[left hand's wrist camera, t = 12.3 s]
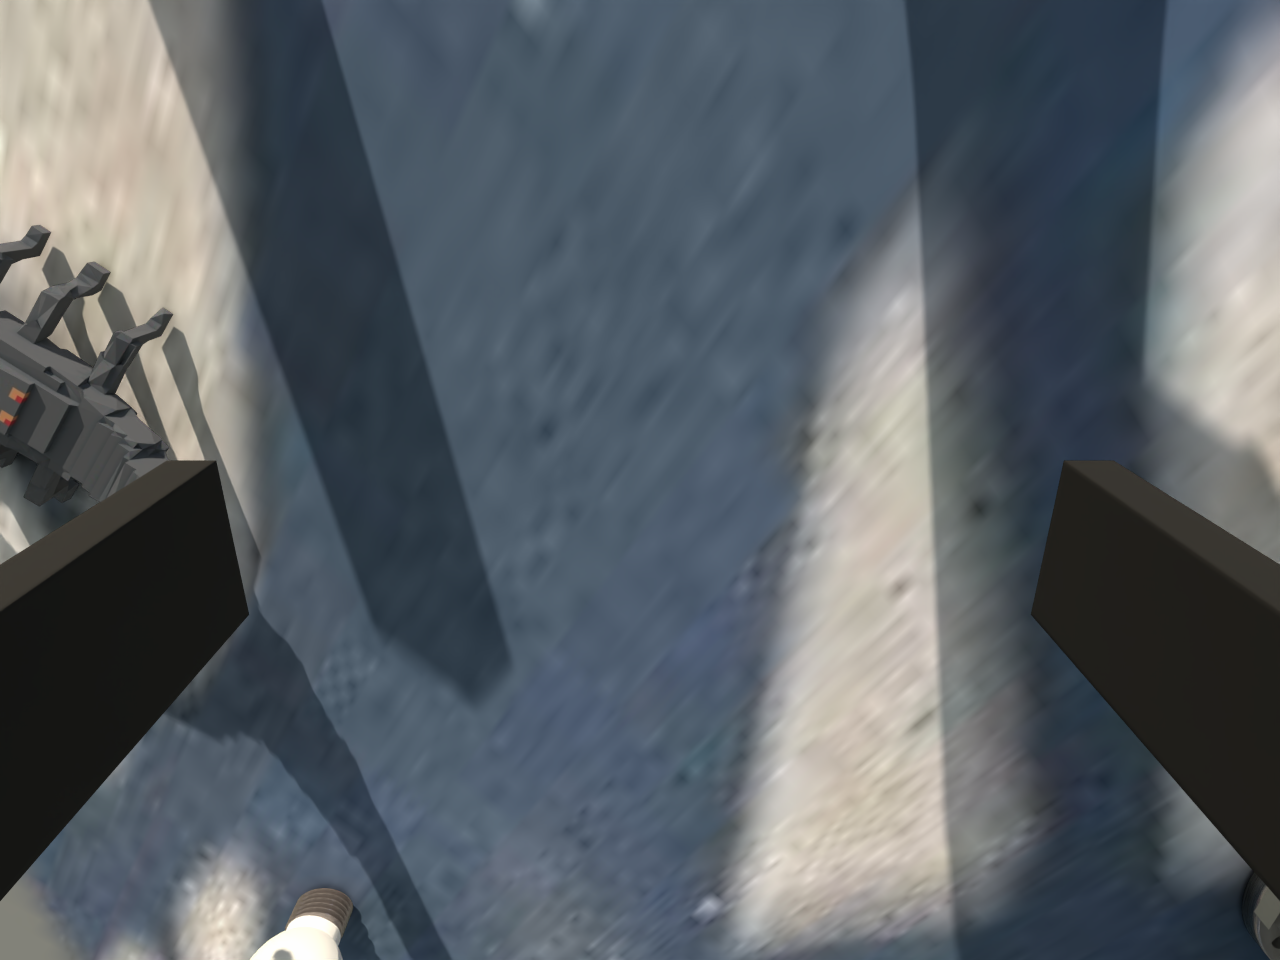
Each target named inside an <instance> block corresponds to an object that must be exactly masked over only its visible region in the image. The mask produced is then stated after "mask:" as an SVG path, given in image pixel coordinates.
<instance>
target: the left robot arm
mask: <svg viewBox="0 0 1280 960" xmlns="http://www.w3.org/2000/svg"><path fill="white" fill-rule="evenodd" d="M248 615H249V612H248V607H247V603H246V598H245V593H244V589H243V584H242V579H241V575H240V570H239V565H238V561H237V556H236V551H235V547H234V542H233V537H232V533H231V528H230V523H229V519H228V514H227V509H226V505H225V500H224V495H223V491H222V486H221V481H220V477H219V472H218V467H217V463H216V461H165V462H164V463H162V464H160V465H159V466H157V467H156V468H154V469H152V470H151V471H149V472H148V473H146V474H144V475H143V476H141V477H140V478H138V479H136V480H135V481H133V482H132V483H130V484H128V485H127V486H125V487H124V488H122V489H120V490H119V491H117V492H116V493H114V494H112V495H111V496H109V497H108V498H106V499H104V500H103V501H101V502H100V503H98V504H96V505H95V506H93V507H92V508H90V509H88V510H87V511H85V512H84V513H82V514H80V515H79V516H77V517H76V518H74V519H73V520H71V521H69V522H68V523H66V524H65V525H63V526H61V527H60V528H58V529H57V530H55V531H53V532H52V533H50V534H49V535H47V536H45V537H44V538H42V539H41V540H39V541H37V542H36V543H34V544H33V545H31V546H29V547H28V548H26V549H25V550H23V551H21V552H20V553H18V554H17V555H15V556H13V557H12V558H10V559H9V560H7V561H5V562H4V563H2V564H1V565H0V901H1V900H2V899H3V897H4V896H5V895H6V894H7V893H8V892H9V890H10V889H11V888H12V887H13V886H14V885H15V884H16V882H17V881H18V880H19V879H20V878H21V877H22V875H23V874H24V873H25V872H26V871H27V870H28V869H29V867H30V866H31V865H32V864H33V863H34V862H35V861H36V859H37V858H38V857H39V856H40V855H41V854H42V852H43V851H44V850H45V849H46V848H47V847H48V846H49V844H50V843H51V842H52V841H53V840H54V839H55V837H56V836H57V835H58V834H59V833H60V832H61V831H62V829H63V828H64V827H65V826H66V825H67V824H68V822H69V821H70V820H71V819H72V818H73V817H74V816H75V814H76V813H77V812H78V811H79V810H80V809H81V808H82V806H83V805H84V804H85V803H86V802H87V801H88V799H89V798H90V797H91V796H92V795H93V794H94V793H95V791H96V790H97V789H98V788H99V787H100V786H101V784H102V783H103V782H104V781H105V780H106V779H107V778H108V776H109V775H110V774H111V773H112V772H113V771H114V770H115V768H116V767H117V766H118V765H119V764H120V763H121V761H122V760H123V759H124V758H125V757H126V756H127V755H128V753H129V752H130V751H131V750H132V749H133V748H134V746H135V745H136V744H137V743H138V742H139V741H140V740H141V738H142V737H143V736H144V735H145V734H146V733H147V731H148V730H149V729H150V728H151V727H152V726H153V725H154V723H155V722H156V721H157V720H158V719H159V718H160V717H161V715H162V714H163V713H164V712H165V711H166V710H167V708H168V707H169V706H170V705H171V704H172V703H173V702H174V700H175V699H176V698H177V697H178V696H179V695H180V693H181V692H182V691H183V690H184V689H185V688H186V687H187V685H188V684H189V683H190V682H191V681H192V680H193V679H194V677H195V676H196V675H197V674H198V673H199V672H200V670H201V669H202V668H203V667H204V666H205V665H206V664H207V662H208V661H209V660H210V659H211V658H212V657H213V655H214V654H215V653H216V652H217V651H218V650H219V649H220V647H221V646H222V645H223V644H224V643H225V642H226V640H227V639H228V638H229V637H230V636H231V635H232V634H233V632H234V631H235V630H236V629H237V628H238V627H239V626H240V624H241V623H242V622H243V621H244V620H245V619H246V617H247V616H248ZM1031 615H1032V616H1033V617H1034V619H1035V620H1036V621H1037V622H1038V623H1039V624H1040V626H1041V627H1042V628H1043V629H1044V630H1045V631H1046V632H1047V634H1048V635H1049V636H1050V637H1051V638H1052V639H1053V640H1054V642H1055V643H1056V644H1057V645H1058V646H1059V647H1060V649H1061V650H1062V651H1063V652H1064V653H1065V654H1066V655H1067V657H1068V658H1069V659H1070V660H1071V661H1072V662H1073V664H1074V665H1075V666H1076V667H1077V668H1078V669H1079V670H1080V672H1081V673H1082V674H1083V675H1084V676H1085V677H1086V679H1087V680H1088V681H1089V682H1090V683H1091V684H1092V685H1093V687H1094V688H1095V689H1096V690H1097V691H1098V692H1099V693H1100V695H1101V696H1102V697H1103V698H1104V699H1105V700H1106V702H1107V703H1108V704H1109V705H1110V706H1111V707H1112V708H1113V710H1114V711H1115V712H1116V713H1117V714H1118V715H1119V717H1120V718H1121V719H1122V720H1123V721H1124V722H1125V723H1126V725H1127V726H1128V727H1129V728H1130V729H1131V730H1132V731H1133V733H1134V734H1135V735H1136V736H1137V737H1138V738H1139V740H1140V741H1141V742H1142V743H1143V744H1144V745H1145V746H1146V748H1147V749H1148V750H1149V751H1150V752H1151V753H1152V755H1153V756H1154V757H1155V758H1156V759H1157V760H1158V761H1159V763H1160V764H1161V765H1162V766H1163V767H1164V768H1165V770H1166V771H1167V772H1168V773H1169V774H1170V775H1171V776H1172V778H1173V779H1174V780H1175V781H1176V782H1177V783H1178V784H1179V786H1180V787H1181V788H1182V789H1183V790H1184V791H1185V793H1186V794H1187V795H1188V796H1189V797H1190V798H1191V799H1192V801H1193V802H1194V803H1195V804H1196V805H1197V806H1198V808H1199V809H1200V810H1201V811H1202V812H1203V813H1204V814H1205V816H1206V817H1207V818H1208V819H1209V820H1210V821H1211V822H1212V824H1213V825H1214V826H1215V827H1216V828H1217V829H1218V831H1219V832H1220V833H1221V834H1222V835H1223V836H1224V837H1225V839H1226V840H1227V841H1228V842H1229V843H1230V844H1231V846H1232V847H1233V848H1234V849H1235V850H1236V851H1237V852H1238V854H1239V855H1240V856H1241V857H1242V858H1243V859H1244V861H1245V862H1246V863H1247V864H1248V865H1249V866H1250V867H1251V869H1252V870H1253V871H1254V872H1255V873H1256V874H1257V875H1258V877H1259V878H1260V879H1261V880H1262V881H1263V882H1264V884H1265V885H1266V886H1267V887H1268V888H1269V889H1270V890H1271V892H1272V893H1273V894H1274V895H1275V896H1276V897H1277V899H1278V900H1279V901H1280V565H1279V564H1278V563H1276V562H1275V561H1273V560H1271V559H1270V558H1268V557H1267V556H1265V555H1263V554H1262V553H1260V552H1259V551H1257V550H1255V549H1254V548H1252V547H1251V546H1249V545H1247V544H1246V543H1244V542H1243V541H1241V540H1239V539H1238V538H1236V537H1235V536H1233V535H1231V534H1230V533H1228V532H1227V531H1225V530H1223V529H1222V528H1220V527H1219V526H1217V525H1215V524H1214V523H1212V522H1211V521H1209V520H1207V519H1206V518H1204V517H1203V516H1201V515H1200V514H1198V513H1196V512H1195V511H1193V510H1192V509H1190V508H1188V507H1187V506H1185V505H1184V504H1182V503H1180V502H1179V501H1177V500H1176V499H1174V498H1172V497H1171V496H1169V495H1168V494H1166V493H1164V492H1163V491H1161V490H1160V489H1158V488H1156V487H1155V486H1153V485H1152V484H1150V483H1148V482H1147V481H1145V480H1144V479H1142V478H1140V477H1139V476H1137V475H1136V474H1134V473H1132V472H1131V471H1129V470H1128V469H1126V468H1124V467H1123V466H1121V465H1120V464H1118V463H1116V462H1115V461H1064V463H1063V467H1062V472H1061V477H1060V481H1059V486H1058V491H1057V495H1056V500H1055V505H1054V509H1053V514H1052V519H1051V523H1050V528H1049V533H1048V537H1047V542H1046V547H1045V551H1044V556H1043V561H1042V565H1041V570H1040V575H1039V579H1038V584H1037V589H1036V593H1035V598H1034V603H1033V607H1032V612H1031Z"/></svg>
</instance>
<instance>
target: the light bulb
mask: <svg viewBox="0 0 1280 960" xmlns="http://www.w3.org/2000/svg"><path fill="white" fill-rule="evenodd" d="M352 910H353V904H352V901H351V900H350V899H349V897H348V896H347V895H345V894H344V893H342V892H340V891H337V890H334V889H327V888H321V889H314V890H311V891H309V892H306V893H305V894H303V895H302V896H301V897H300V898H299V900H298V901H297V903H296V905H295V908H294V910H293V912H292V914H291V916H290V919H289V920H288V923H287V925H286V927H285V931H284V932H281V933H280V934H278V935H276V936H275V937H273V938H272V939H270V940H269V941H267V942H266V943H265V944H264V945H263V946H262V947H261V948H260V949H258V951H257V952H256V953H255V954H254V955H253V956H252V958H251V959H250V960H343V959H342V956H341V952H340V950H339V947H338V945H339V943H340V940H341V938H342V937H343V933H344V931H345V928H346V926H347V923H348V921H349V918H350V916H351V913H352Z"/></svg>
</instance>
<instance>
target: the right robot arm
mask: <svg viewBox="0 0 1280 960" xmlns="http://www.w3.org/2000/svg"><path fill="white" fill-rule="evenodd" d="M1242 916H1243V920H1244V923H1245V926H1246V928H1247V930H1248V932H1249V933H1250V935H1251V936H1252V937H1253V939H1254V940H1255V941H1256V942H1257V944H1258V945H1259V946H1260V947H1261V949H1262V950H1263V951H1264V952H1265V954H1266V955H1267V956H1268V957H1269V959H1270V960H1280V901H1279V900H1278V899H1277V897H1276V896H1275V895H1274V894H1273V893H1272V892H1271V890H1270V889H1269V888H1268V887H1267V886H1266V885H1265V884H1264V882H1263V881H1262V880H1261V879H1260V878H1259V877H1258V875H1257V874H1256V873H1255V872H1254V873H1253V875H1252V876H1251V878H1250V880H1249V882H1248V884H1247V886H1246V889H1245V892H1244V896H1243V901H1242Z"/></svg>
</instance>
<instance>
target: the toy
mask: <svg viewBox="0 0 1280 960" xmlns="http://www.w3.org/2000/svg"><path fill="white" fill-rule="evenodd" d="M50 234H51V232H50V231H48V230H47V229H45V228H44V227H42V226H41V225H35V226H31V228H30V229H29V231H28V233H27V234H26V236H25V237H24V238H23V239H22V240H21V241H16V242H10V243H3V244H0V283H1V282H2V280H3V278H4V276H5V275H6V273H7V271H8V270H9V268H10V266H11V264H13V263H15V262H18V261H20V260H22V259H26V258H31V257H36V256H40V255H41V252H42V250H43V248H44V246H45V244H46V242H47V240H48V238H49V236H50ZM110 273H111V272H109V271H108V270H106V269H105V268H103V267H102V266H101V265H99V264H98V263H96V262H89V263H87V264H86V265H85V267H84V268H83V269H82V271H81V272H80V273H79V275H78V276H77V278H75V279H73V280H71V281H70V282H68V283H64V284H59V285H55V286H52V287H50V288H48V289H46V290H44V291H42V292H41V294H40V295H39V297H38V299H37V301H36V303H35V305H34V307H33V309H32V311H31V313H30V315H29V317H28V318H27V320H26V322H25V323H24V322H23V321H21V320H20V319H18V318H16V317H15V316H13V315H12V314H10V313H9V312H7V311H0V467H1V468H3V467H5V466H7V465H10V464H12V463H13V461H14V459H15V457H16V455H17V453H18V452H19V453H20V454H22V455H24V456H25V457H27V458H29V459H31V460H32V461H34V462H36V463H38V466H37V468H36V470H35V472H34V474H33V477H32V479H31V481H30V483H29V485H28V488H27V490H26V492H25V495H24V498H26V499H28V500H29V501H31V502H33V503H34V504H36V505H38V506H41V505H42V504H44V503H45V502H47V501H48V500H50V499H51V498H53V497H54V498H56V499H57V500H59V501H60V502H61V503H63V502H65V501H67V500H69V499H71V497H72V495H73V494H74V492H75V490H76V488H77V486H78V485H79V483H77V482H75V481H74V480H77V481H79V482H80V483H81V484H82V488H84V489H85V490H87V491H88V492H89V493H90V494H89V496H90V497H92V498H94V499H95V500H97V501H99V502H101V501H103V500H104V499H106V498H108V497H109V496H111V495H112V494H114V493H116V492H117V491H119V490H120V489H122V488H124V487H125V486H127V485H128V484H130V483H132V482H133V481H135V480H136V479H138V478H140V477H141V476H143V475H144V474H146V473H148V472H149V471H151V470H152V469H154V468H156V467H157V466H159V465H160V464H162V463H164V462H165V461H170V460H169V459H168V458H167V456H166V451H167V450H168V448H169V446H168V445H167V444H166V443H165V442H164V441H163V440H162V438H160V437H159V436H158V435H157V434H156V433H154V432H153V431H152V430H151V429H150V428H149V427H148V426H146V425H145V424H144V423H143V422H142V421H141V420H140V419H139V418H138V417H137V416H136V415H137V412H136V411H135V410H134V409H133V408H132V407H130V406H129V405H128V404H127V403H126V402H125V401H123V400H122V399H121V398H120V397H119V396H118V395H116V394H115V393H116V391H117V389H118V386H119V384H120V382H121V380H122V378H123V376H124V374H125V372H126V369H127V368H128V367H129V365H130V364H131V362H132V361H133V359H134V357H135V356H136V354H137V353H138V351H139V350H140V348H141V346H142V345H143V344H144V343H146V342H147V341H149V340H152V339H154V338H157V337H160V336H161V335H162V333H163V332H164V330H165V328H166V326H167V324H168V323H169V321H170V319H171V317H172V315H173V314H172V313H171V312H169V311H168V310H166V309H165V308H162V309H161V310H159V311H158V312H157V313H156V314H155V315H154V316H153V317H152V318H150V320H149V321H148V322H147V323H146V324H144V325H141V326H138V327H135V328H132V329H129V330H127V331H124V332H123V331H122V330H120V331H117V332H114V333H113V335H112V337H111V339H110V342H109V344H108V346H107V348H106V350H105V351H103V352H100V354H99V357H98V359H97V361H96V363H95V366H94V368H93V367H92V366H90V365H89V364H87V363H86V362H84V361H83V360H81V359H80V358H78V357H77V356H75V355H74V354H73V353H71V352H70V351H68V350H66V349H60V348H59V347H57V346H56V345H55V344H54V343H53V342H51V341H50V340H49V339H48V338H47V337H48V336H50V335H51V334H52V333H53V331H54V329H55V328H56V326H57V324H58V323H59V321H60V319H61V318H62V316H63V314H64V313H65V311H66V309H67V308H68V306H69V305H70V303H71V302H72V300H73V299H76V298H80V297H85V296H90V295H94V294H96V293H97V292H99V291H101V290H102V288H103V286H104V284H105V282H106V280H107V278H108V276H109V275H110Z"/></svg>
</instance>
